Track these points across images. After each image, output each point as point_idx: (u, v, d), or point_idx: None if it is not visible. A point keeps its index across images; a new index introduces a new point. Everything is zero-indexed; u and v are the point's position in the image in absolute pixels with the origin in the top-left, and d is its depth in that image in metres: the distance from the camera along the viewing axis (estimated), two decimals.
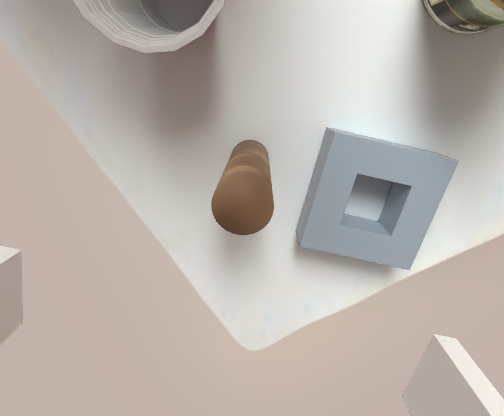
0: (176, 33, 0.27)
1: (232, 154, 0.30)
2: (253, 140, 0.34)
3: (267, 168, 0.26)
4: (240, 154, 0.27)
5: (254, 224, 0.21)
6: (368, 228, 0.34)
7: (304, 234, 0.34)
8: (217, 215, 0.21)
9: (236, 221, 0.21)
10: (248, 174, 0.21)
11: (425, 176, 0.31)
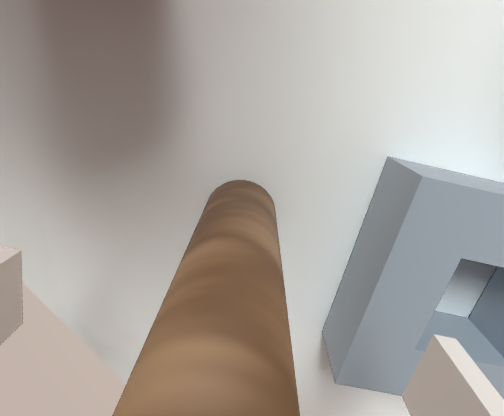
0: None
1: (200, 224, 0.14)
2: None
3: (278, 288, 0.10)
4: (211, 243, 0.11)
5: None
6: (465, 347, 0.18)
7: (345, 363, 0.17)
8: None
9: None
10: None
11: None
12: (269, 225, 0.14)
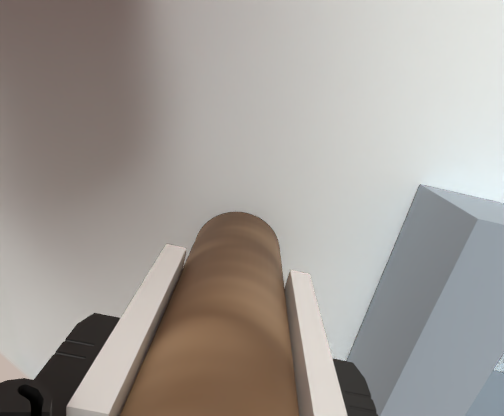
0: None
1: (181, 280, 0.11)
2: None
3: (289, 408, 0.07)
4: (190, 327, 0.08)
5: None
6: None
7: None
8: None
9: None
10: None
11: None
12: (273, 282, 0.11)
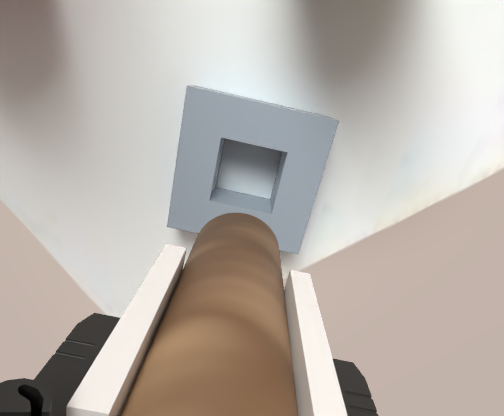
0: None
1: (181, 280, 0.11)
2: (244, 213, 0.15)
3: (288, 407, 0.07)
4: (190, 327, 0.08)
5: None
6: (248, 205, 0.29)
7: (170, 212, 0.29)
8: None
9: None
10: None
11: (302, 141, 0.26)
12: (273, 282, 0.11)
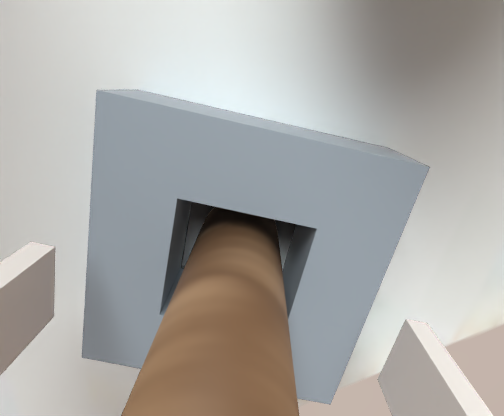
0: None
1: (193, 253, 0.12)
2: None
3: (283, 340, 0.09)
4: (204, 282, 0.10)
5: None
6: None
7: (85, 333, 0.15)
8: None
9: None
10: None
11: (348, 206, 0.12)
12: (271, 254, 0.13)
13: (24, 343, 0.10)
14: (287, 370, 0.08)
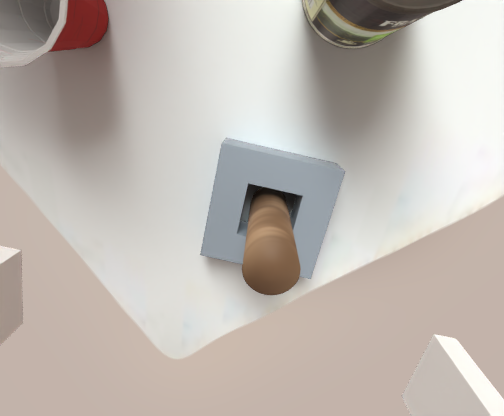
0: None
1: (254, 204, 0.32)
2: None
3: (290, 223, 0.28)
4: (263, 208, 0.29)
5: (281, 285, 0.23)
6: None
7: (203, 243, 0.34)
8: (247, 277, 0.23)
9: (265, 282, 0.23)
10: (276, 239, 0.22)
11: (315, 186, 0.32)
12: (285, 205, 0.32)
13: None
14: (291, 228, 0.27)
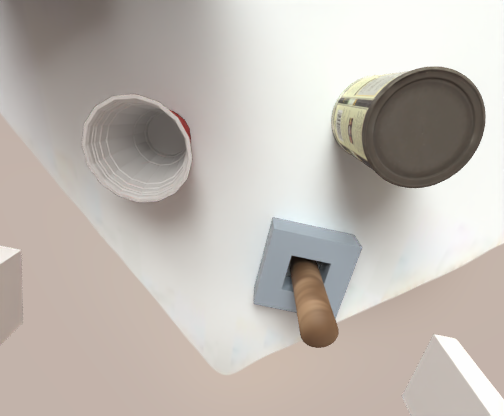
0: (161, 169, 0.39)
1: (296, 270, 0.44)
2: None
3: (325, 290, 0.40)
4: (306, 278, 0.41)
5: (325, 342, 0.35)
6: None
7: (256, 295, 0.46)
8: (303, 337, 0.35)
9: (315, 340, 0.35)
10: (322, 313, 0.35)
11: (340, 257, 0.44)
12: (318, 271, 0.44)
13: None
14: None
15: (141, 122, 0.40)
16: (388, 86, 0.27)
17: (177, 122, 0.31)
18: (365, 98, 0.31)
